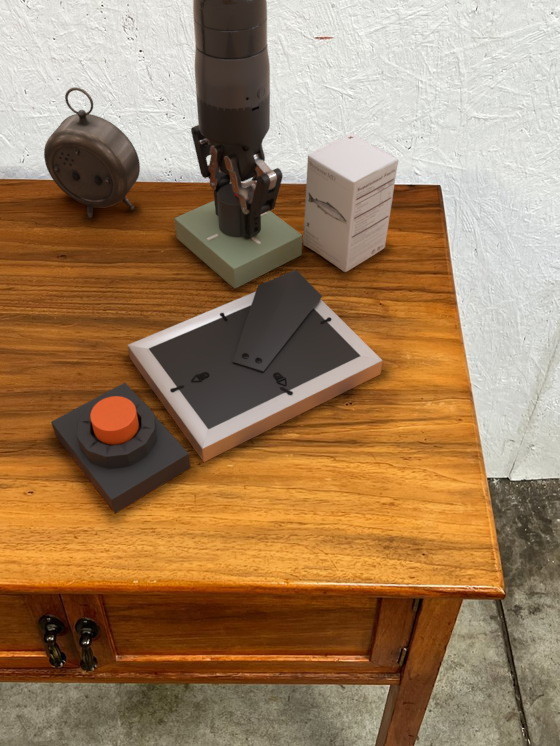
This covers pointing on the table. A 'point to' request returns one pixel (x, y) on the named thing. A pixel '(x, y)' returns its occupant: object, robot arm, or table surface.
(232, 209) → the dial knob
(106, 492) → the button base
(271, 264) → the dial panel
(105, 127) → the alarm clock
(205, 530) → the table surface
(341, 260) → the white packaging box
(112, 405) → the orange button cap
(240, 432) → the picture frame
